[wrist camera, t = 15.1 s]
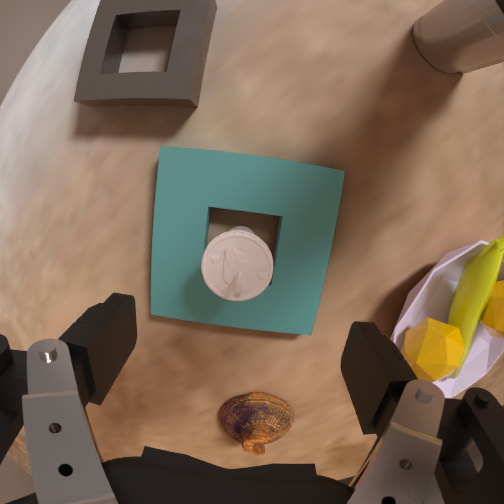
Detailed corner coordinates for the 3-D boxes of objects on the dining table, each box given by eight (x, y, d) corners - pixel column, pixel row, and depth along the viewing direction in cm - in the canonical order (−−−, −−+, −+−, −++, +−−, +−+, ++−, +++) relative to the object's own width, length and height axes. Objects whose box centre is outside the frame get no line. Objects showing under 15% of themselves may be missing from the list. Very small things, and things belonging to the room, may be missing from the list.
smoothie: (226, 274, 37) (212, 336, 23) (204, 226, 35) (176, 264, 22) (275, 256, 36) (289, 310, 23) (256, 205, 34) (259, 232, 21)
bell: (244, 379, 42) (243, 414, 35) (307, 407, 44) (314, 440, 36) (207, 420, 44) (202, 453, 37) (266, 443, 46) (268, 474, 39)
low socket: (338, 170, 33) (345, 170, 31) (307, 325, 39) (311, 335, 36) (166, 147, 32) (160, 146, 30) (156, 305, 38) (150, 314, 36)
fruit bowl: (466, 377, 43) (495, 412, 32) (348, 380, 42) (369, 433, 31) (522, 239, 35) (567, 258, 25) (409, 198, 34) (462, 213, 23)
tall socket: (217, 7, 27) (212, -11, 23) (197, 107, 31) (190, 99, 27) (114, 12, 27) (100, -1, 22) (91, 106, 31) (73, 101, 26)
